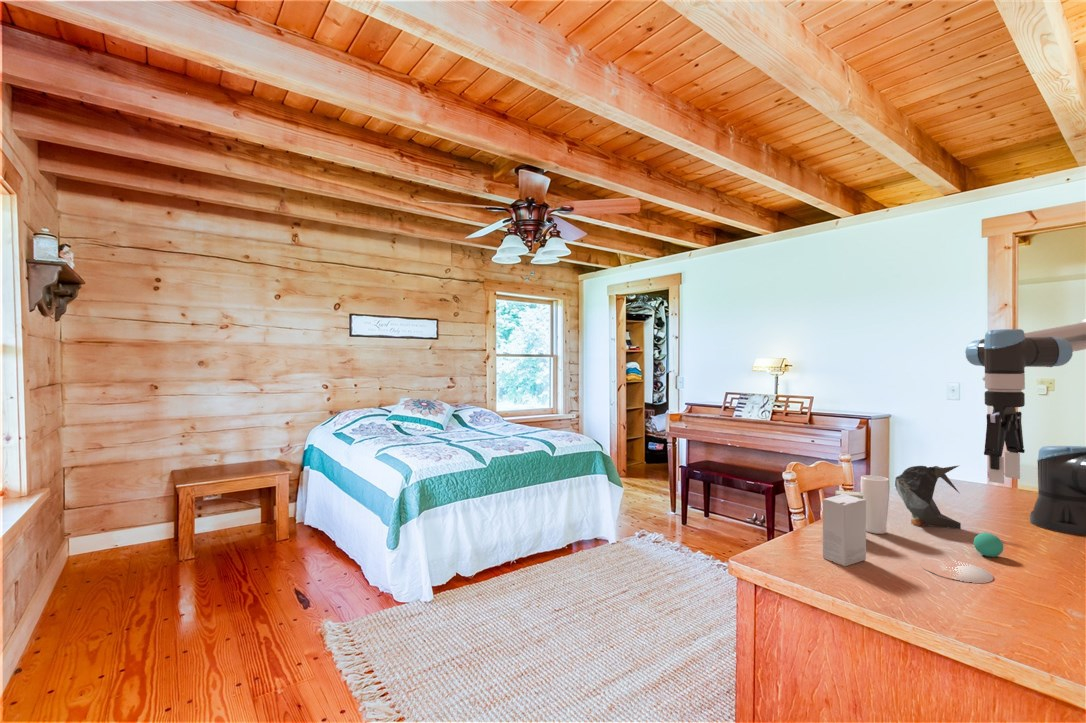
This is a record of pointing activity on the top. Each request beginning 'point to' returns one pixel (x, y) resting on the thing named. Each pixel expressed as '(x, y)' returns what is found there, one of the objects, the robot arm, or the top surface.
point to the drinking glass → (875, 502)
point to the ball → (988, 544)
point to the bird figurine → (924, 495)
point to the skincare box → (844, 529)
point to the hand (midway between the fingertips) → (1004, 480)
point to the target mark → (972, 574)
